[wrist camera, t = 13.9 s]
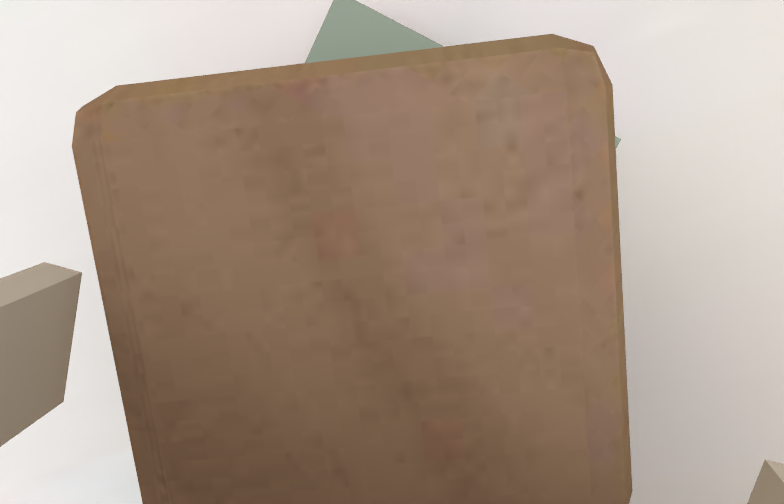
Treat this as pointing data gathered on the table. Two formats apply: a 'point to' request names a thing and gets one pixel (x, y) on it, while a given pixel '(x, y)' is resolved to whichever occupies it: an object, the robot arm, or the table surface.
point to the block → (367, 278)
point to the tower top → (364, 35)
